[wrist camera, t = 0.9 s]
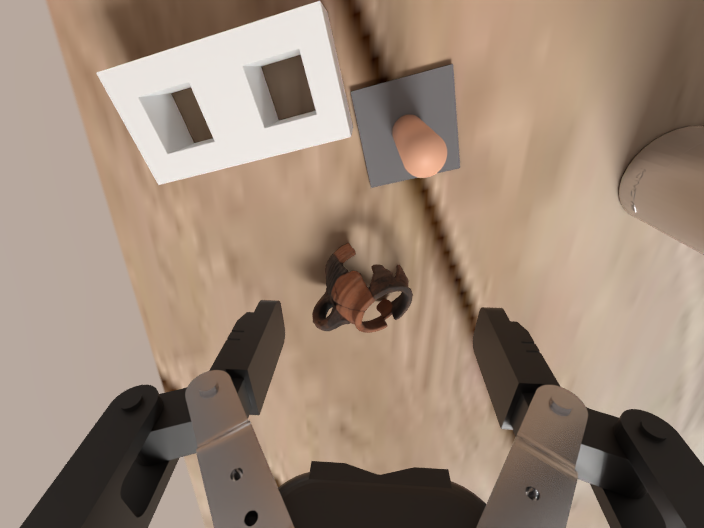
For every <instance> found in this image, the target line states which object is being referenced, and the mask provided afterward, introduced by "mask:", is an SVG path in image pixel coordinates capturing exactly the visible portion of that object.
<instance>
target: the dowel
mask: <svg viewBox="0 0 704 528" xmlns="http://www.w3.org/2000/svg"><path fill="white" fill-rule="evenodd" d="M392 136H393V139H394V142H395V144H396V147H397V149H398V152H399V155H400V157H401V160H402V162H403V165H404V167H405V169H406V170H407V171H408V172H409V173H410V174H411V175H413V176H415V177H418V178H426V177H430V176H433V175H434V174H436V173H437V172H439V171H440V170H441V168H442V167H443V166H444V164H445V162H446V158H447V147H446V144H445V142H444V140H443V139H442V138H441V137H440V136H439V135H438V134H437V133H435V132H434V131H433V130H432V129H431V128H430V127H429V126H428V125H426V124H425V123H424V122H423V121H422V120H421V119H420V118H418V117H417V116H415V115H411V114H408V115H404V116H402V117H400V118H399V119H398V120H397V121H396V122H395V124H394V126H393V130H392Z"/></svg>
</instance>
